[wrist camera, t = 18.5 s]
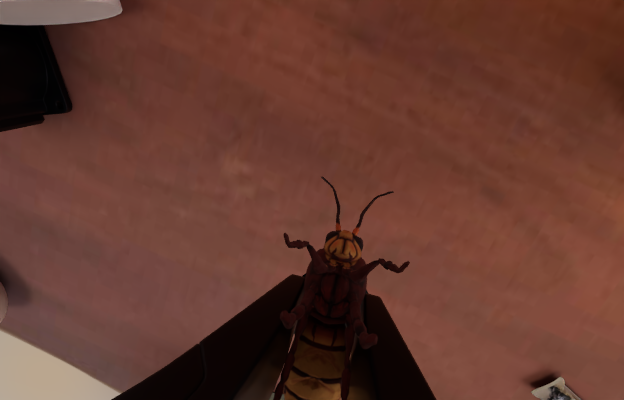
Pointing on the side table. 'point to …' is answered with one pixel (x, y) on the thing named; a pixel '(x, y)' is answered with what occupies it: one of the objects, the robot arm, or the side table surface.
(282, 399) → the cup
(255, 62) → the side table surface
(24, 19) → the candle
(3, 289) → the egg
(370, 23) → the side table surface
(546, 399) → the granola bar
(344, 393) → the insect
